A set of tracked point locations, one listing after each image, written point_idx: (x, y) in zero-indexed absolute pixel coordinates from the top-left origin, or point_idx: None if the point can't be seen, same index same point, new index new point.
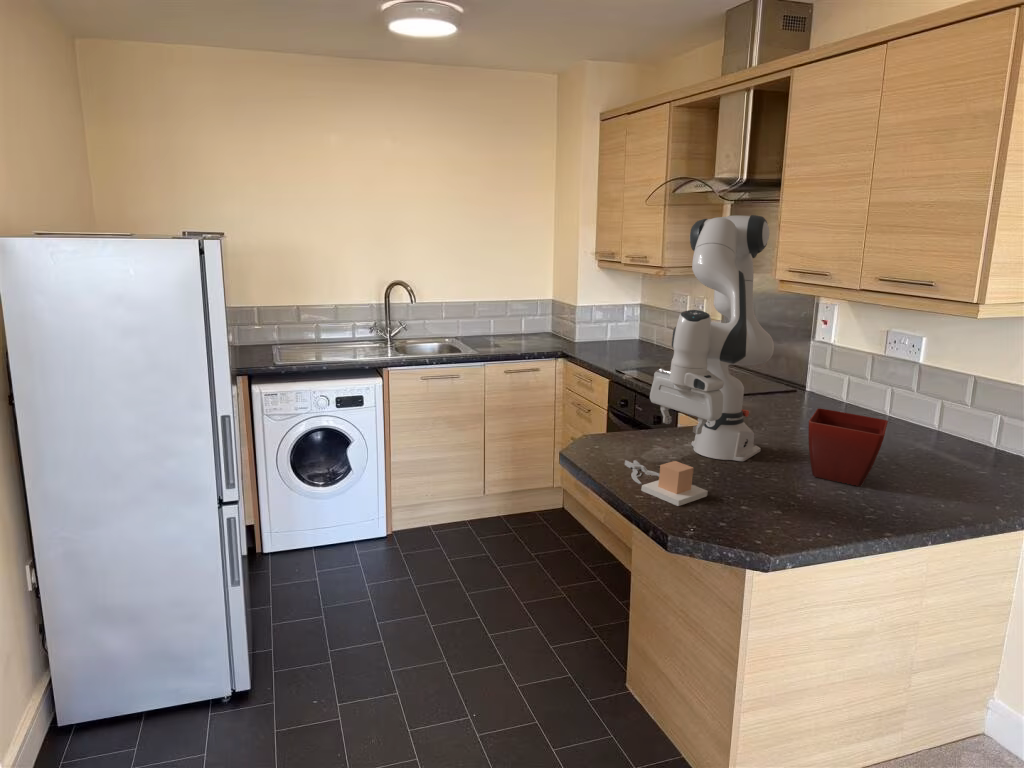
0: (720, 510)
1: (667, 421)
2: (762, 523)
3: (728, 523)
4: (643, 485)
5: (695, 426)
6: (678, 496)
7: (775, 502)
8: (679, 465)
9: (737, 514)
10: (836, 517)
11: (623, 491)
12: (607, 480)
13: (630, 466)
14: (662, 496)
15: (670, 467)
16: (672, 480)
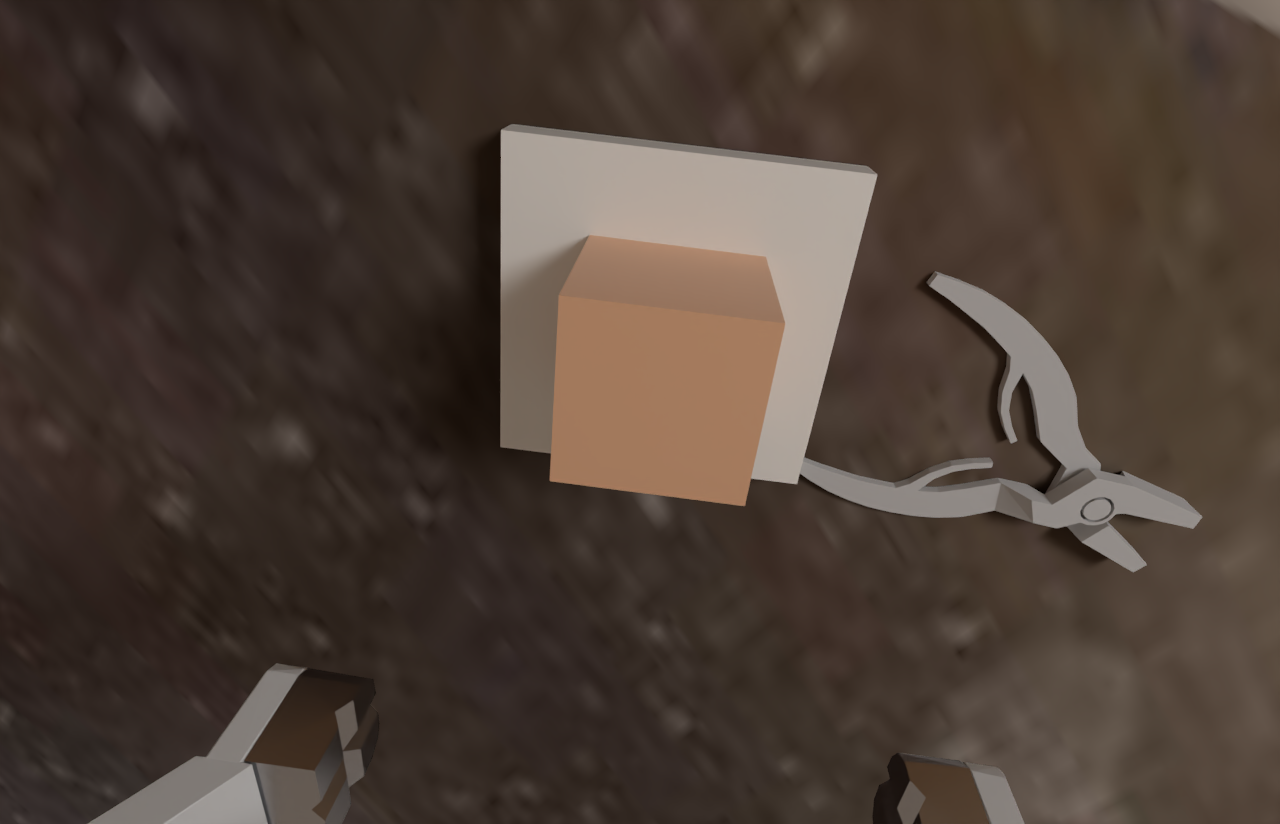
0: (319, 297)
1: (914, 793)
2: (75, 316)
3: (143, 144)
4: (864, 181)
5: (291, 788)
6: (552, 204)
7: (267, 600)
8: (655, 440)
9: (230, 322)
10: (30, 629)
11: (978, 21)
12: (1199, 128)
13: (1127, 478)
14: (659, 145)
15: (679, 336)
16: (631, 268)
